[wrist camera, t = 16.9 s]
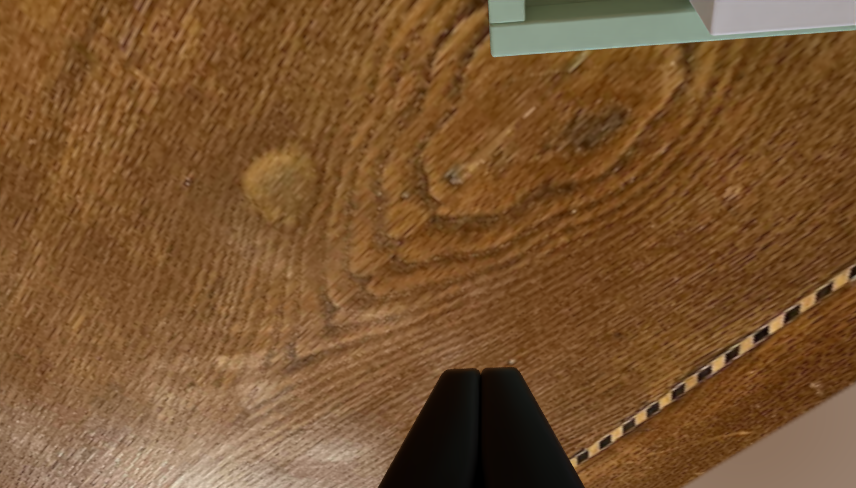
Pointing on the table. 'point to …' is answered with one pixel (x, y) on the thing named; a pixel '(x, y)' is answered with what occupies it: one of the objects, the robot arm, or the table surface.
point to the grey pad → (773, 15)
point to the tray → (602, 25)
